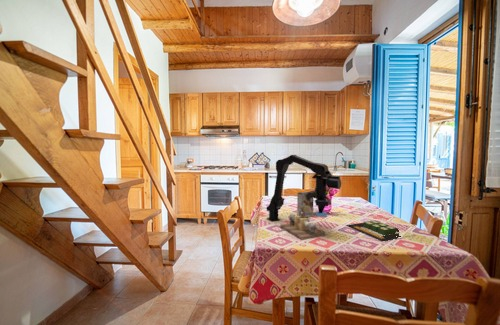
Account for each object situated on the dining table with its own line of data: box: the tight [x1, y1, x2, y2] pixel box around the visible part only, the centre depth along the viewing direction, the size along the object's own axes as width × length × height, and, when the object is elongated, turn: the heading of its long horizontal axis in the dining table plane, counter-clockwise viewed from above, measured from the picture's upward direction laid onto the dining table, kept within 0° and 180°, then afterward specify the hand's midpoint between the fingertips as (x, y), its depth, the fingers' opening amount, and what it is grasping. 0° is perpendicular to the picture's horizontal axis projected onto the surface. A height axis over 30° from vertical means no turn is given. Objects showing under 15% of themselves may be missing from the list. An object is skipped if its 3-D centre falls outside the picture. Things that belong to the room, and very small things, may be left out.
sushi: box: [345, 220, 401, 242], centre depth 131 cm, size 25×25×4 cm
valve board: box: [279, 213, 326, 241], centre depth 128 cm, size 20×16×9 cm
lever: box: [299, 211, 328, 218], centre depth 127 cm, size 15×3×2 cm, turn 81°
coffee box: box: [296, 191, 314, 218], centre depth 156 cm, size 9×6×16 cm
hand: (320, 213), depth 129 cm, fingers closed
